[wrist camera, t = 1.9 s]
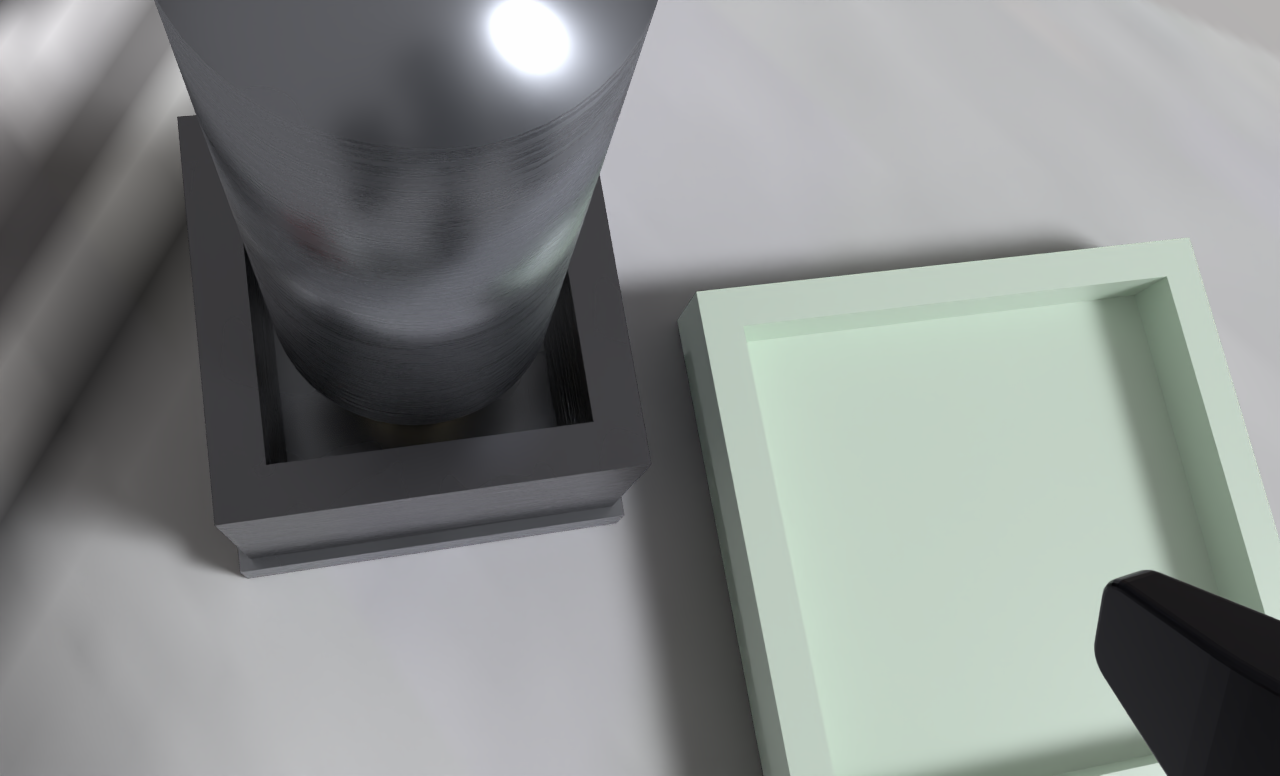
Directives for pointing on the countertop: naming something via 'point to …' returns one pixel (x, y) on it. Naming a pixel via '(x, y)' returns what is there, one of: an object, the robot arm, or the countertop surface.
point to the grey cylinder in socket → (406, 254)
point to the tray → (966, 500)
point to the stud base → (338, 431)
